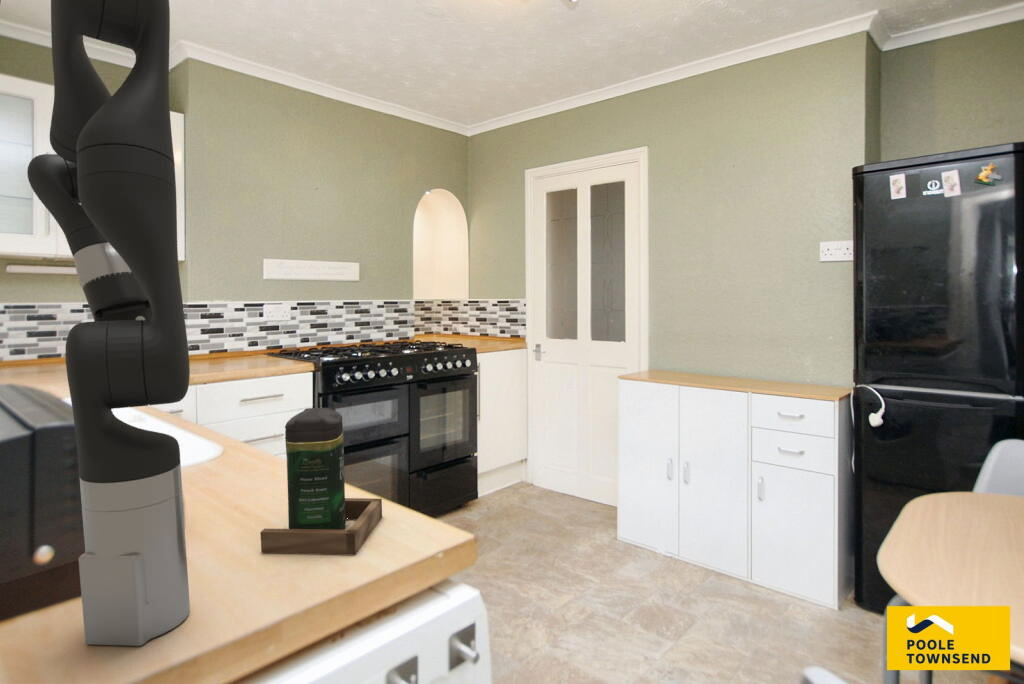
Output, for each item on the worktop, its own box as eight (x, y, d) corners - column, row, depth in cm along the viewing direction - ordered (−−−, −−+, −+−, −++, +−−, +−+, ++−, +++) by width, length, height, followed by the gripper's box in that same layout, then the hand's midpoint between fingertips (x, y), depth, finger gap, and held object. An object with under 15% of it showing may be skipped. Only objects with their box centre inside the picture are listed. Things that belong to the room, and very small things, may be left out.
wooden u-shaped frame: (355, 554, 83) (354, 533, 82) (261, 552, 83) (260, 532, 83) (382, 516, 96) (381, 498, 96) (301, 515, 97) (300, 497, 96)
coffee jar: (342, 544, 86) (337, 416, 84) (284, 548, 85) (278, 418, 83) (350, 518, 95) (345, 402, 94) (297, 522, 94) (292, 405, 92)
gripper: (57, 279, 81) (101, 399, 80) (165, 262, 89) (206, 370, 88) (57, 299, 87) (98, 411, 86) (158, 281, 95) (197, 383, 94)
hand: (153, 390), depth 87 cm, fingers closed
